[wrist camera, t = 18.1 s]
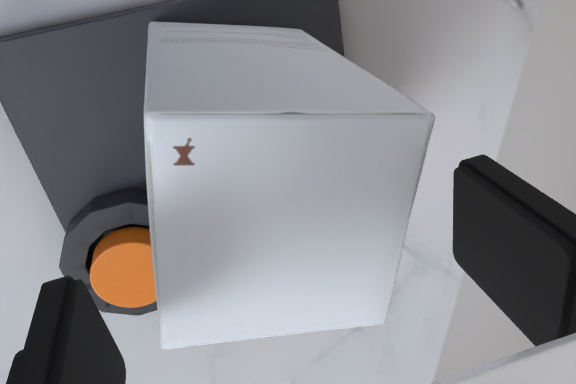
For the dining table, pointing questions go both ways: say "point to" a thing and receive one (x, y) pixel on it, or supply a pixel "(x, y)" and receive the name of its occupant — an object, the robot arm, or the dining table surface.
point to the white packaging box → (272, 183)
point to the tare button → (124, 268)
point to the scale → (111, 109)
